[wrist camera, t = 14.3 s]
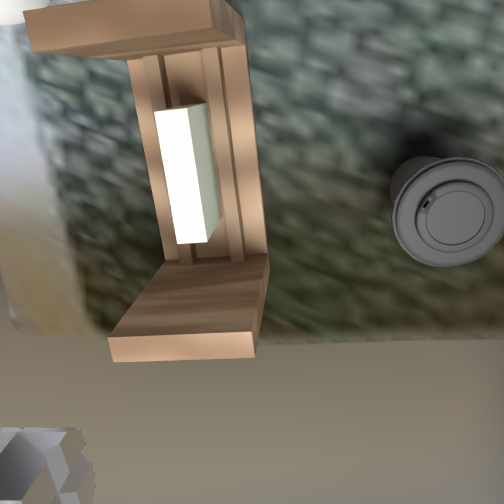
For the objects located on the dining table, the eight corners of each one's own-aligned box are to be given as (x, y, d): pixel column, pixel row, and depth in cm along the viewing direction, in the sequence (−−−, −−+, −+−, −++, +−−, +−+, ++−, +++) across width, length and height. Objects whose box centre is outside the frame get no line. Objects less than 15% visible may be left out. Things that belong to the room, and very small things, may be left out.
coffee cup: (374, 141, 39) (396, 162, 29) (473, 136, 38) (529, 155, 28) (371, 231, 41) (391, 275, 32) (463, 228, 40) (511, 273, 31)
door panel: (170, 106, 38) (143, 112, 32) (206, 102, 38) (186, 108, 31) (188, 218, 42) (167, 244, 35) (222, 216, 41) (207, 241, 35)
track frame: (126, 35, 38) (22, 11, 24) (243, 18, 36) (206, -18, 22) (171, 274, 45) (113, 362, 31) (270, 268, 44) (254, 357, 30)
